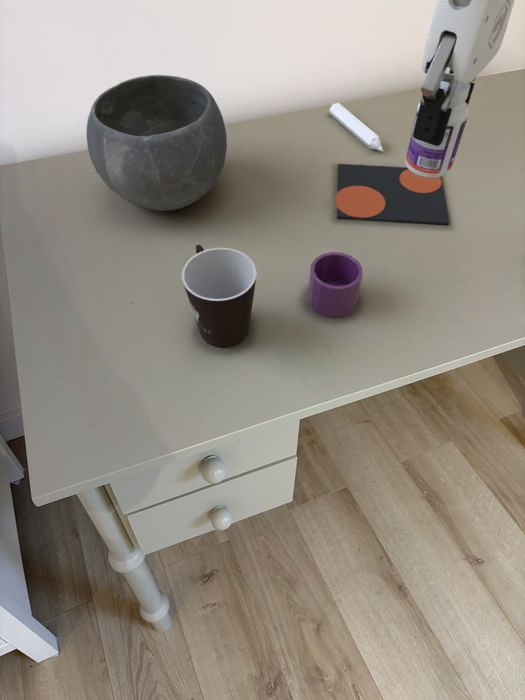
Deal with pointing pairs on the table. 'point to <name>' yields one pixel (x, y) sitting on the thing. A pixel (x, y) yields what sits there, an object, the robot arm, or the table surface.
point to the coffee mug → (220, 294)
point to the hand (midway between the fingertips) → (438, 126)
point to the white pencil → (356, 127)
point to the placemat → (389, 195)
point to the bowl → (157, 141)
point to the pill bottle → (441, 158)
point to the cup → (334, 284)
